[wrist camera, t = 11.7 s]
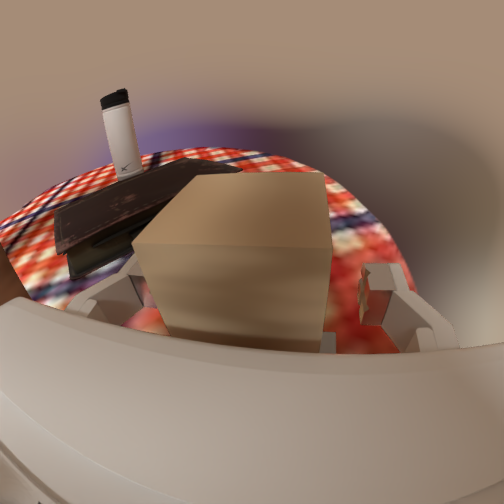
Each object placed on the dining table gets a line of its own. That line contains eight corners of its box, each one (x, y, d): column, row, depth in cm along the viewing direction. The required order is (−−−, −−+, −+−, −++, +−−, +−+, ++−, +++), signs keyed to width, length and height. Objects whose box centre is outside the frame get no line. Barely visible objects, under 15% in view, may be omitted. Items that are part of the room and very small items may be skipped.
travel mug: (129, 182, 52) (110, 91, 40) (113, 181, 54) (94, 98, 43) (150, 171, 56) (133, 86, 45) (132, 171, 59) (116, 92, 48)
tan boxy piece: (212, 412, 13) (131, 243, 7) (233, 341, 17) (198, 173, 11) (304, 423, 12) (332, 248, 6) (311, 347, 16) (323, 170, 10)
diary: (63, 234, 37) (53, 208, 34) (187, 180, 50) (182, 155, 47) (74, 290, 25) (54, 251, 22) (250, 203, 37) (246, 168, 34)
